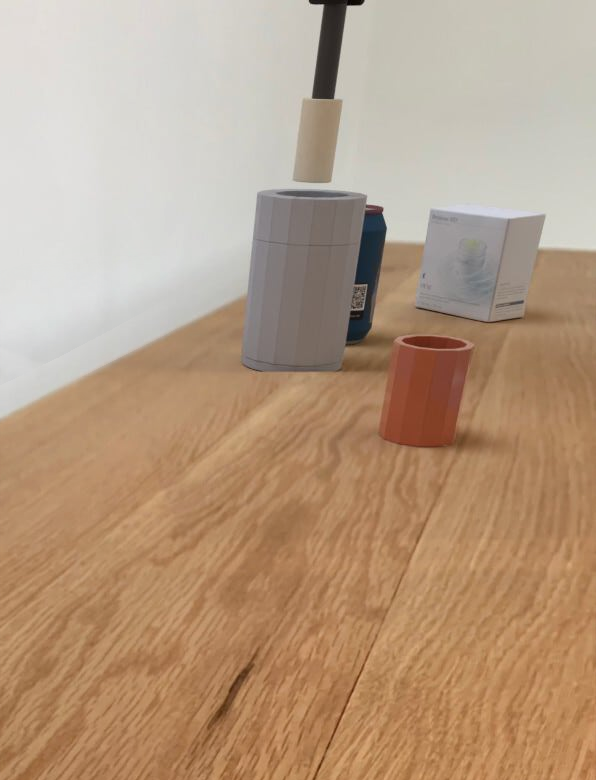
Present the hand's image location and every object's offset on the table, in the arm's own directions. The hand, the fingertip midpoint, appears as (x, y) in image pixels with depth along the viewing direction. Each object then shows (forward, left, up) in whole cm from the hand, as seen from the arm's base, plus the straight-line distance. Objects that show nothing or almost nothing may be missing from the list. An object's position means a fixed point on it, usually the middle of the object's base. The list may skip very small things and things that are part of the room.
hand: (336, 2), depth 86 cm
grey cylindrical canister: (0, 0, -27) cm, 28 cm away
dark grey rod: (0, 0, -13) cm, 13 cm away
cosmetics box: (-26, -25, -28) cm, 46 cm away
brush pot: (-3, +25, -27) cm, 37 cm away
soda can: (-7, -11, -28) cm, 31 cm away
